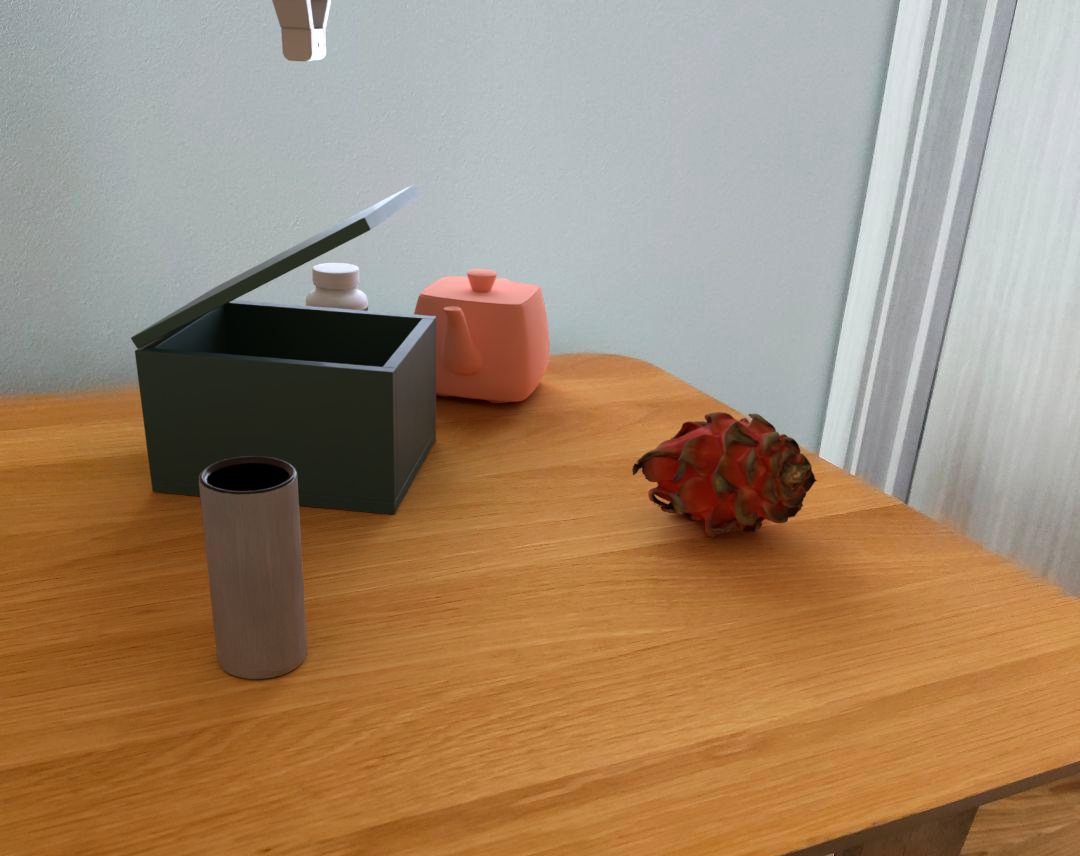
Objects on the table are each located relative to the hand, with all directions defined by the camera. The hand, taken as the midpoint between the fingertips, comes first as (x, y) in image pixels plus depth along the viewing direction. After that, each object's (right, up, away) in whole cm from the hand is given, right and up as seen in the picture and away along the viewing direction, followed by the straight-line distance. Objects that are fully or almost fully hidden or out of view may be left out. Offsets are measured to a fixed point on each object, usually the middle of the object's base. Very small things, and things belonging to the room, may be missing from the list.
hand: (305, 60), depth 65 cm
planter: (0, -35, -10) cm, 37 cm away
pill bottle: (-4, -15, +31) cm, 35 cm away
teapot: (+9, -16, +30) cm, 35 cm away
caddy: (-3, -24, +13) cm, 27 cm away
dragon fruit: (+26, -28, +7) cm, 39 cm away
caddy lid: (-3, -11, +7) cm, 13 cm away
